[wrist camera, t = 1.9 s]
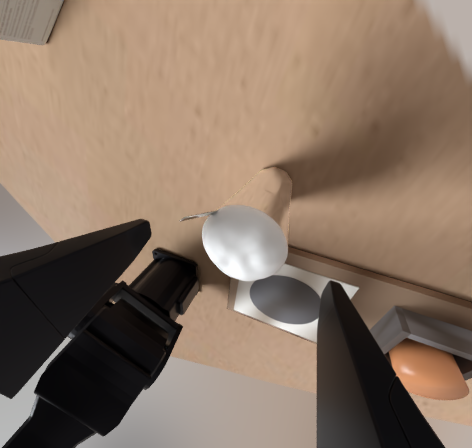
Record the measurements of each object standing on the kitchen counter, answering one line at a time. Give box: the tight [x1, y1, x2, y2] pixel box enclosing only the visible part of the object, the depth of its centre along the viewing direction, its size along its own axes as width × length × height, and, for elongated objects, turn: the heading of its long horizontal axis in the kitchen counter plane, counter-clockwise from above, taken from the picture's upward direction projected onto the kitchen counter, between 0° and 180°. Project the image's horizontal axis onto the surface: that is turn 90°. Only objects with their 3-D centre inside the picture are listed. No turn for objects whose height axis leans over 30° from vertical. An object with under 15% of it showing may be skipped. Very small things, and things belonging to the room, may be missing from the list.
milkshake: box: [180, 167, 293, 281], centre depth 13 cm, size 4×5×10 cm
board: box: [227, 247, 472, 380], centre depth 21 cm, size 22×13×3 cm, turn 84°
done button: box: [389, 338, 469, 400], centre depth 17 cm, size 4×4×3 cm
